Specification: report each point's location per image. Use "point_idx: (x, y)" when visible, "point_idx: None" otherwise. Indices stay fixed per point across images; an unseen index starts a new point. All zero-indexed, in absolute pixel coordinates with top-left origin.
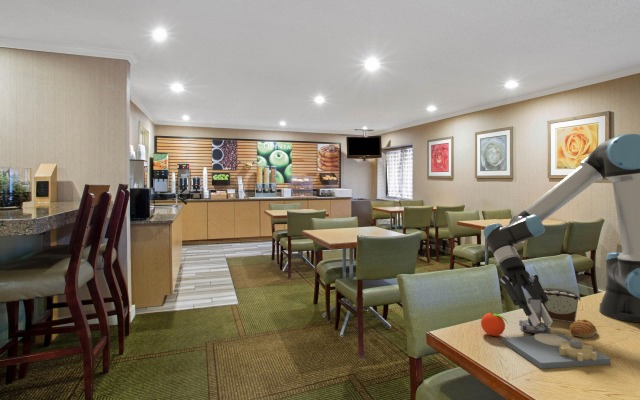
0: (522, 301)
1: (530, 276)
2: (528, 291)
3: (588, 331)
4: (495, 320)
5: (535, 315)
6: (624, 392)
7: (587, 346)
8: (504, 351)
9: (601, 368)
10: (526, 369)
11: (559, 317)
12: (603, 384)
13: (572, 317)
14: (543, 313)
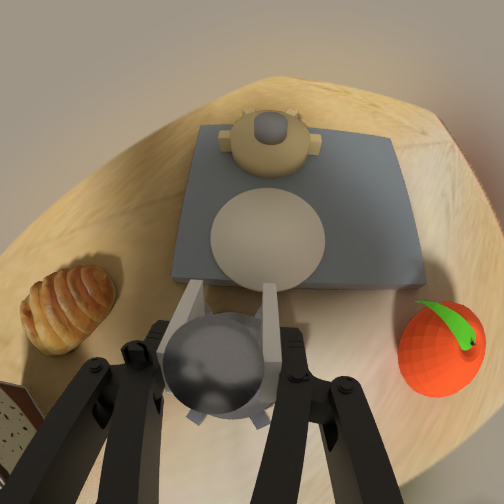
0: (309, 391)
1: None
2: (155, 492)
3: (75, 266)
4: (464, 308)
5: (268, 306)
6: (284, 78)
7: (233, 131)
8: (433, 232)
9: None
10: (415, 154)
11: None
12: (299, 93)
13: (17, 392)
14: None
